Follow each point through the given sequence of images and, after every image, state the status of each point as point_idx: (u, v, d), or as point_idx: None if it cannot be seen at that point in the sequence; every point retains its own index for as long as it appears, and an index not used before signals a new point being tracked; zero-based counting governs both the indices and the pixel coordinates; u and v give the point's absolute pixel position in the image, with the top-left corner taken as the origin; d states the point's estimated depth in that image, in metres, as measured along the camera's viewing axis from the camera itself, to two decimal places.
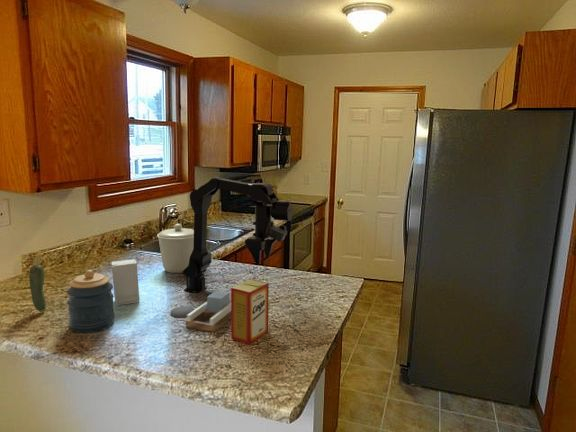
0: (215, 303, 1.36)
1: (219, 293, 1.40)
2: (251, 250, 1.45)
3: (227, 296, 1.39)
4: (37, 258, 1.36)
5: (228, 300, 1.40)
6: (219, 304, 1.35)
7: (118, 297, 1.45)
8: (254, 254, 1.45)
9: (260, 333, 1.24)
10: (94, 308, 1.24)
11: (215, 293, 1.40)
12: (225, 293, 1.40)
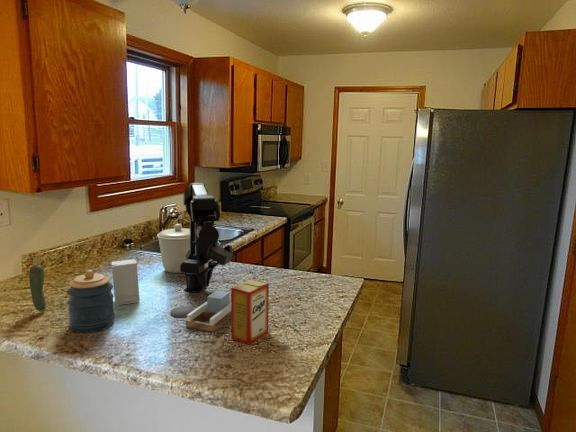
0: (215, 303, 1.36)
1: (219, 293, 1.40)
2: None
3: (227, 296, 1.39)
4: (37, 258, 1.36)
5: (228, 300, 1.40)
6: (219, 304, 1.35)
7: (118, 297, 1.45)
8: (199, 276, 1.28)
9: (260, 333, 1.24)
10: (94, 308, 1.24)
11: (215, 293, 1.40)
12: (225, 293, 1.40)
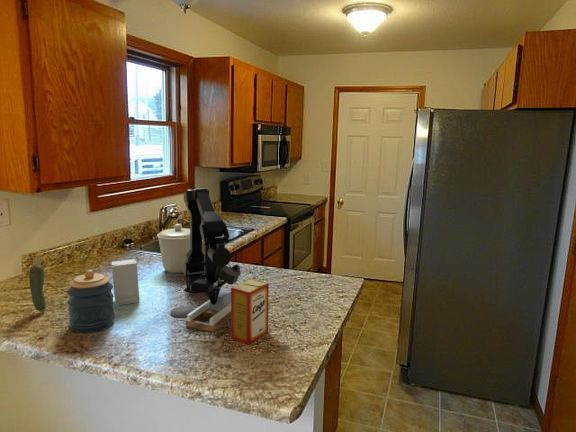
0: (217, 301, 1.37)
1: (221, 291, 1.41)
2: None
3: (229, 294, 1.41)
4: (37, 258, 1.36)
5: (230, 298, 1.42)
6: (221, 303, 1.37)
7: (118, 297, 1.45)
8: (209, 294, 1.34)
9: (260, 333, 1.24)
10: (94, 308, 1.24)
11: None
12: (227, 292, 1.41)
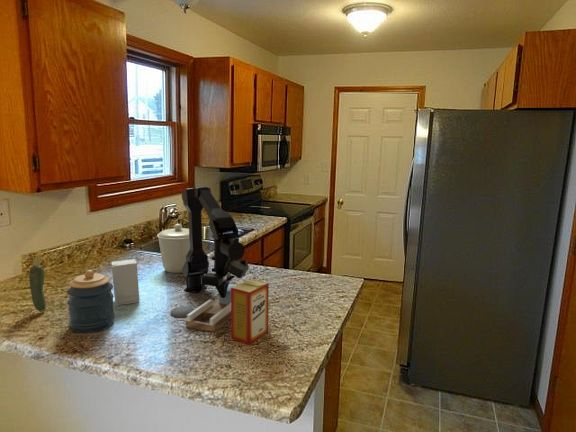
0: (226, 295, 1.43)
1: (230, 286, 1.47)
2: None
3: None
4: (37, 258, 1.36)
5: None
6: (230, 297, 1.42)
7: (118, 297, 1.45)
8: (218, 288, 1.40)
9: (260, 333, 1.24)
10: (94, 308, 1.24)
11: None
12: None
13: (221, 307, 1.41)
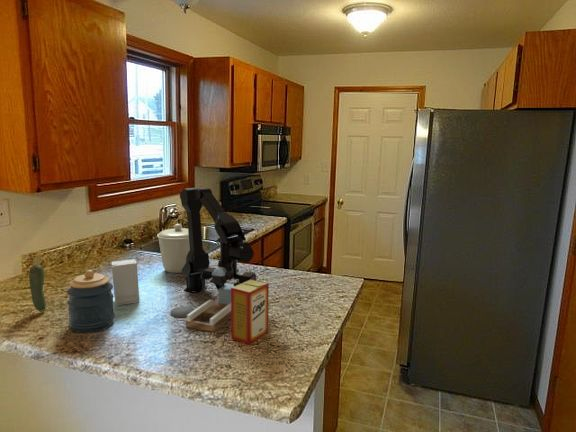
0: (226, 295, 1.43)
1: (229, 286, 1.47)
2: None
3: None
4: (37, 258, 1.36)
5: None
6: (230, 297, 1.42)
7: (118, 297, 1.45)
8: None
9: (260, 333, 1.24)
10: (94, 308, 1.24)
11: (225, 286, 1.47)
12: None
13: (221, 307, 1.41)
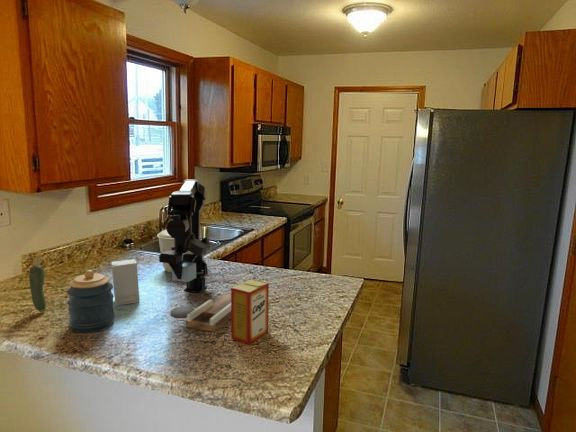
0: (192, 270, 1.38)
1: None
2: (171, 264, 1.34)
3: None
4: (37, 258, 1.36)
5: None
6: (195, 269, 1.39)
7: (118, 297, 1.45)
8: (174, 268, 1.35)
9: (260, 333, 1.24)
10: (94, 308, 1.24)
11: None
12: None
13: (221, 307, 1.41)
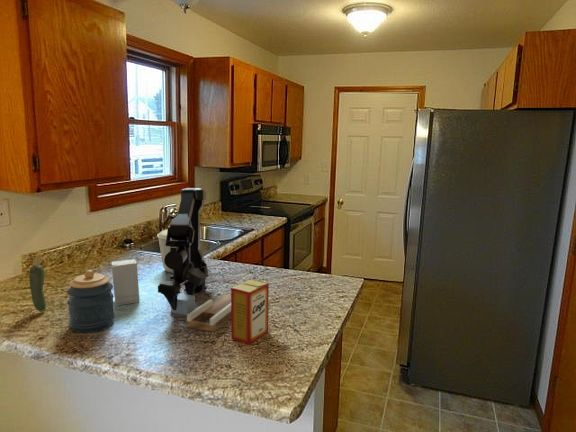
0: (191, 302, 1.40)
1: (178, 296, 1.40)
2: (166, 295, 1.34)
3: None
4: (37, 258, 1.36)
5: None
6: (193, 302, 1.41)
7: (118, 297, 1.45)
8: (169, 300, 1.35)
9: (260, 333, 1.24)
10: (94, 308, 1.24)
11: (177, 298, 1.38)
12: (180, 294, 1.42)
13: (221, 307, 1.41)
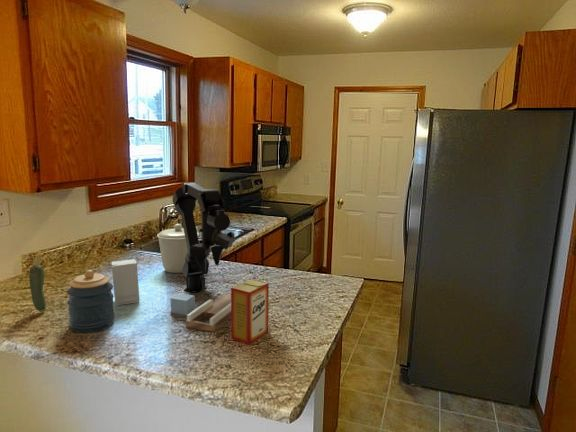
0: (191, 302, 1.40)
1: (178, 296, 1.40)
2: (196, 258, 1.42)
3: None
4: (37, 258, 1.36)
5: None
6: (193, 302, 1.41)
7: (118, 297, 1.45)
8: (199, 262, 1.43)
9: (260, 333, 1.24)
10: (94, 308, 1.24)
11: (177, 298, 1.38)
12: (180, 294, 1.42)
13: (221, 307, 1.41)
